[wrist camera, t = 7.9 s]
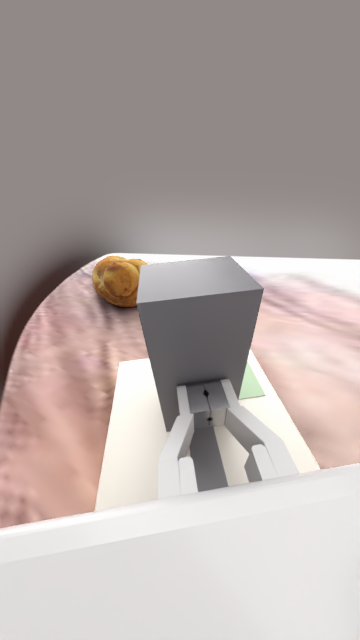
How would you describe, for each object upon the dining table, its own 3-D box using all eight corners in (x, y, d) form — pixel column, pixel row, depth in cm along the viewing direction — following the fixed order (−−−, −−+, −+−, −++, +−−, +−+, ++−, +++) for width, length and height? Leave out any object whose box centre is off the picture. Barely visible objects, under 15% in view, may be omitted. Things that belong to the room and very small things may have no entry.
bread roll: (86, 295, 36) (68, 253, 31) (128, 277, 42) (118, 239, 37) (125, 320, 29) (110, 270, 24) (169, 294, 34) (164, 249, 30)
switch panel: (123, 371, 21) (119, 361, 20) (245, 354, 22) (247, 344, 21) (62, 790, 7) (39, 828, 6) (429, 691, 7) (463, 709, 6)
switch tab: (163, 384, 17) (140, 265, 10) (218, 376, 17) (229, 256, 11) (166, 432, 14) (136, 303, 7) (233, 421, 14) (263, 288, 7)
